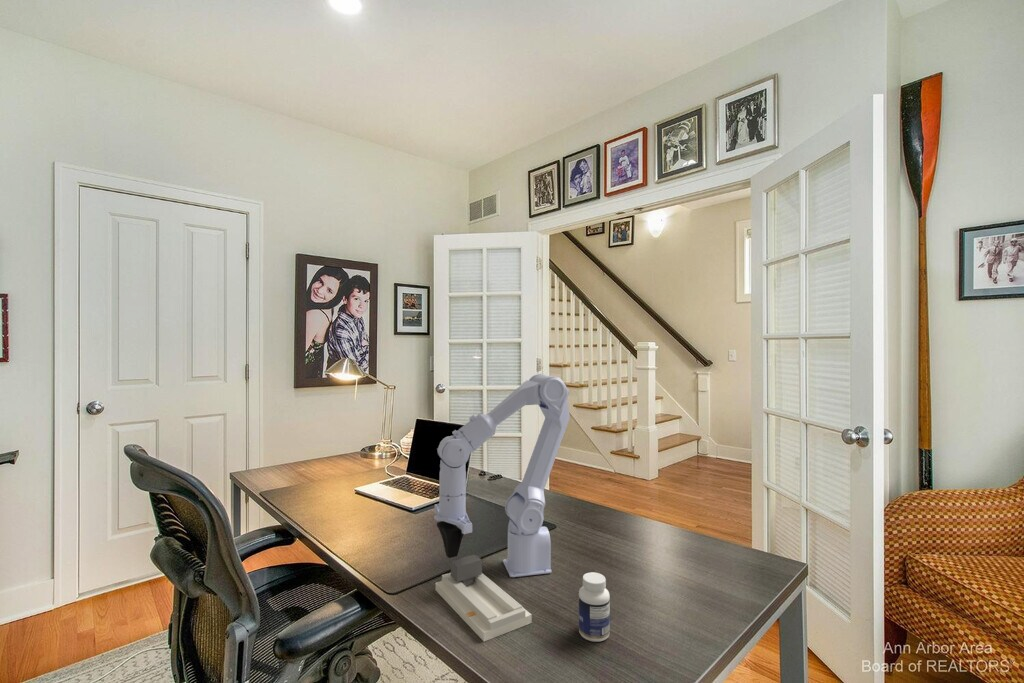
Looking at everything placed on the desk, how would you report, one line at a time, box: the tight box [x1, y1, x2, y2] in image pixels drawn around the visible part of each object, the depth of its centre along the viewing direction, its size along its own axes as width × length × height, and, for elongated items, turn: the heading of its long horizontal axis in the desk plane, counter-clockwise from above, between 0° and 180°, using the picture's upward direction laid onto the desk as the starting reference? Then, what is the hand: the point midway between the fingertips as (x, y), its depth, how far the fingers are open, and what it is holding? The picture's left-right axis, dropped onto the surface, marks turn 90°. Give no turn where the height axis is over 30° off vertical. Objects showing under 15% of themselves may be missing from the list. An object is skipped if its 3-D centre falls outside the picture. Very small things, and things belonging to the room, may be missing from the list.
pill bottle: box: [578, 571, 611, 643], centre depth 82 cm, size 5×5×10 cm
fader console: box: [435, 572, 533, 642], centre depth 91 cm, size 20×10×3 cm, turn 33°
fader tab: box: [450, 554, 483, 586], centre depth 96 cm, size 3×6×5 cm, turn 123°
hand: (451, 555), depth 101 cm, fingers closed
